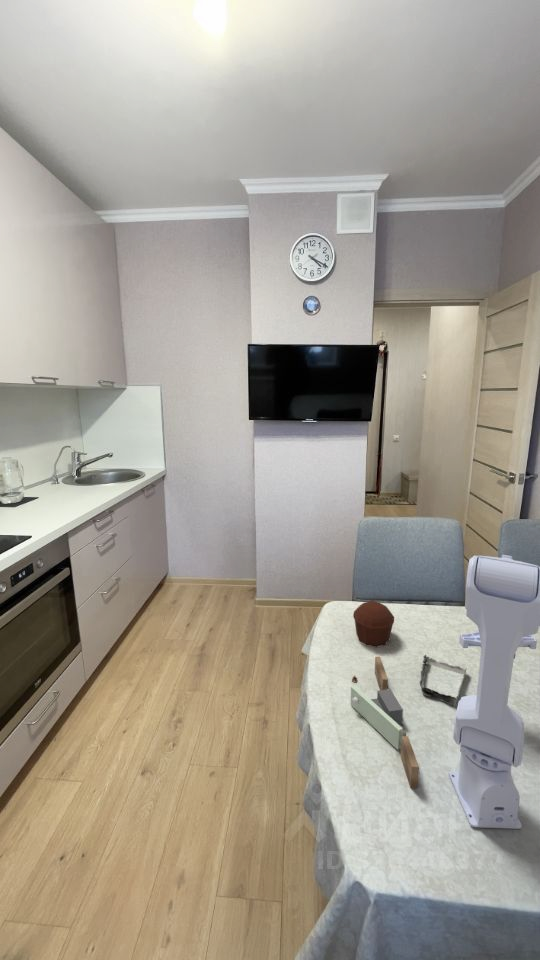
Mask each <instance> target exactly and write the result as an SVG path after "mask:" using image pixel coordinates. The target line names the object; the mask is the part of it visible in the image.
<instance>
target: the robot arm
mask: <svg viewBox="0 0 540 960" xmlns="http://www.w3.org/2000/svg"><path fill="white" fill-rule="evenodd" d="M466 572H467V574H466V583H465V604H464V608H465V610H466V614H465V615H466V617H467V618H468V619H469V620H470V621H471V622H472V623H473V624H475V625H476V626H477V629H478V631H475V632H469V633H464V634H462V633H461V634H459V640H458V641H459V644H460V646H461V647H462V649H468V648H469V647H480V658H479V669H478V676H477V677H478V679H477V689H476V694H473V695H465V696H461V697H460V700H458V703H457V708H456V713H455V719H454V726H453V734H452V735H453V736H452V738H453V740H454V742H455V744H456V745H460V748H459V752H460V758H459V759H460V760H459V769H458V770H450V771H448V776H449V778H450V780H451V781H450V782H452V785H453V787H454V789H455V790H454V791H455V792H456V795H457V797H458V799H459V801H460V802H459V803H460V804H461V806H462V809H463V811H464V813H465V816H466V818H467V820H468V823H469V825H470V827H472V828H484V829H485V828H486V829H487V828H488V829H517V830H518V829H521V828H522V823H521V821H520V819H519V817H518V814H519V809H520V807H519V805H520V799H521V797H520V793H519V790H518V788H517V786H516V783H514V779H513V776H512V766H513V767H514V768H518V767H519V766H521V765H522V760H523V752H524V741H525V739H524V737H525V723H524V722H523V717H522V716H521V715H520V714H518V713H517V712H516V711H515V710H514V709H513V708H511V707H510V706H509V705H508V701H509V695H510V688H511V681H512V676H513V675H512V674H513V667H514V661H515V660H514V659H515V658H516V653H517V650H518V648H529V649H530V650H536V649H537V644H538V640H536V638H535V637H534V636H533V635H536V634H538V632H539V628H540V566H539V565H537V564H533V563H528V562H524V561H520V560H515V559H513V556H512V555H506V554H502V555H501V557H497V556H489V555H474V554H473V556H472V557H470V558H469V560H468V565H467V571H466Z"/></svg>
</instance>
